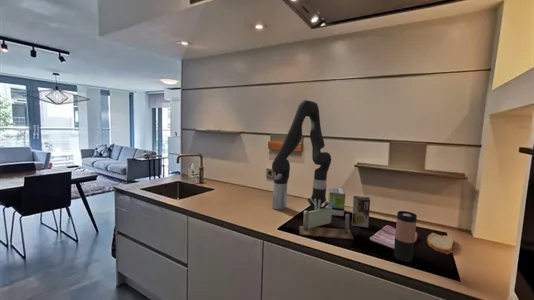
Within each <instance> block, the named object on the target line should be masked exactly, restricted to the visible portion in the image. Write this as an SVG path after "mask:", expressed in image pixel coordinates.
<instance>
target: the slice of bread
mask: <svg viewBox="0 0 534 300" xmlns="http://www.w3.org/2000/svg"><path fill="white" fill-rule="evenodd" d="M426 243H427V245H428V246H429V247H430V248H432V249H433V250H434V251H436V252H438V253H441V254H443V253H445V254H444V255H448V254H450V253H452V252H453V253H454V250H455V240H454V237H453V236H452V235H440V234H437V233H435V232H431V233H429V234H428V236H427V237H426ZM453 253H452V254H453Z"/></svg>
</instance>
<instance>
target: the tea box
mask: <svg viewBox="0 0 534 300" xmlns="http://www.w3.org/2000/svg"><path fill="white" fill-rule="evenodd" d="M327 202H329V204H328V205H327V207H332V215H331V216H339V217H344V215H345V204H346V192H345V189H344V188H341V187H330V186H329V187H328V197H327Z"/></svg>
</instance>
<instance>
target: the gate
mask: <svg viewBox="0 0 534 300" xmlns="http://www.w3.org/2000/svg"><path fill="white" fill-rule="evenodd" d="M308 211H309V210H308ZM332 216H333V215H332V207H328V206H326V207H325V208H322V209H318V210H315V209H314V210H310V211H309V213H308V229H310V228H314V227H321V226H324V225H327V224H330V223H332Z"/></svg>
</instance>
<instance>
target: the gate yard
mask: <svg viewBox="0 0 534 300" xmlns="http://www.w3.org/2000/svg"><path fill="white" fill-rule="evenodd" d="M308 213H309V210H304V211H303V221H302V222H303V223H302V225H299V227H298V228H299V236H307V235H308V236H309V235H310V236H311V237H319V236H320V237H323V238H334V239H344V240H345V239H346V240H354V239H355V238H354V235H353V234H352V232H351V230H350V229H349V228H350V227H349V226H350V216H351V215H350V214H349V213H345V218H344V219H345V220H344V221H340V222H339V227H340V228H331V227H321V226H317V227H314V228H310V229H308ZM343 228H344V229H343ZM310 236H309V237H310Z"/></svg>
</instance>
